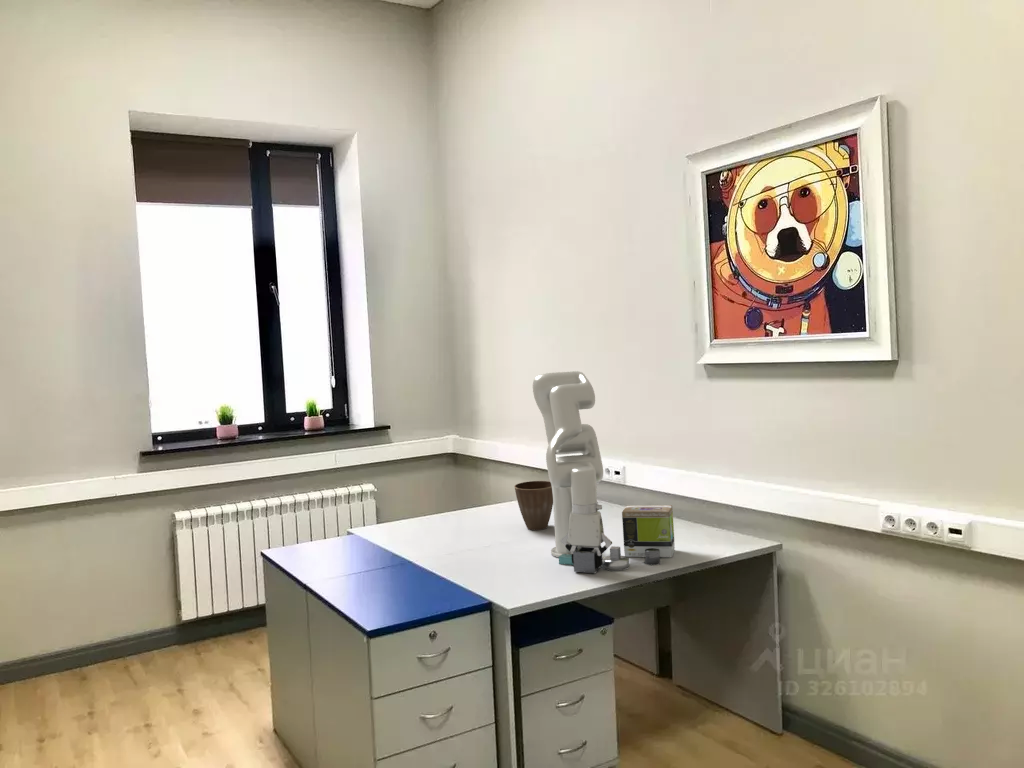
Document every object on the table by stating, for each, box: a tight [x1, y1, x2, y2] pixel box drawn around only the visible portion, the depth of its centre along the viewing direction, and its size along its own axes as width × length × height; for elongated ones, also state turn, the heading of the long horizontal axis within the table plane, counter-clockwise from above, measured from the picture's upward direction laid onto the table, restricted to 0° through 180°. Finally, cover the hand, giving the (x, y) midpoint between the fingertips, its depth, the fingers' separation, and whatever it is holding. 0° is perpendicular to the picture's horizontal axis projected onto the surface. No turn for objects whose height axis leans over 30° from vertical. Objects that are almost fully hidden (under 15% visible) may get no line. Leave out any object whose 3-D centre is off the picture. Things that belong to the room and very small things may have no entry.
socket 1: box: [573, 546, 599, 574], centre depth 250 cm, size 6×6×6 cm
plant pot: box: [514, 480, 554, 531], centre depth 306 cm, size 15×15×16 cm
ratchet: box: [558, 545, 630, 572], centre depth 256 cm, size 22×8×6 cm, turn 64°
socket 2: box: [644, 548, 661, 566], centre depth 255 cm, size 4×4×4 cm
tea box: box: [621, 504, 676, 558], centre depth 265 cm, size 15×10×15 cm
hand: (587, 566), depth 251 cm, fingers closed on socket 1, 6 cm apart
